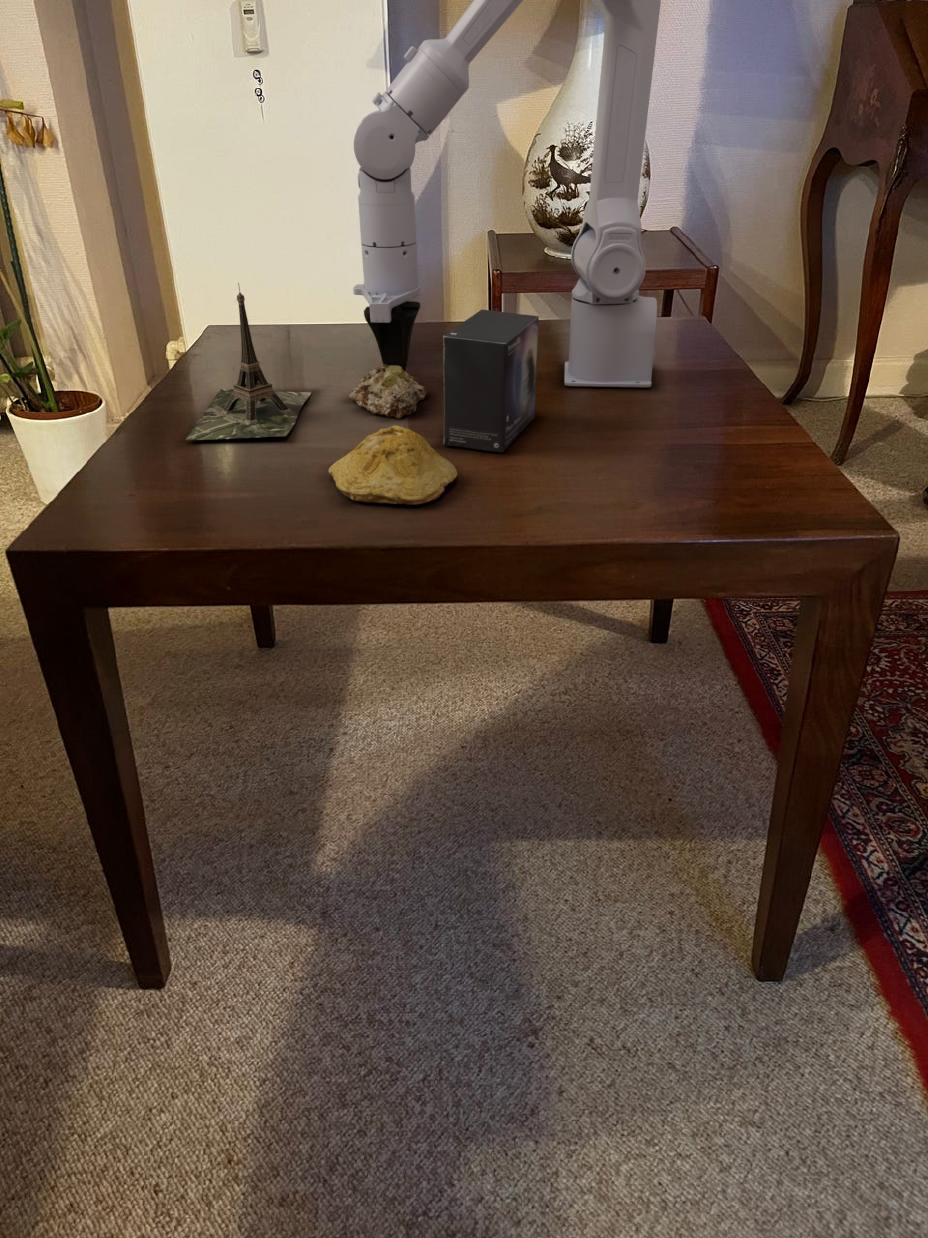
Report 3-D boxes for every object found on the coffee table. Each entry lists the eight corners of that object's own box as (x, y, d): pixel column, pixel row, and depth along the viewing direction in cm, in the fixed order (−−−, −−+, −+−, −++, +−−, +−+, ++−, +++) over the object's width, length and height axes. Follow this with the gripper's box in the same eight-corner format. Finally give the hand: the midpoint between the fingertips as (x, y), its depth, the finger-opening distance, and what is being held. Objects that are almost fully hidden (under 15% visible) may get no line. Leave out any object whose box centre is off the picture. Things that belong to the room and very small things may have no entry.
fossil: (311, 429, 75) (363, 393, 83) (302, 493, 78) (352, 452, 87) (436, 477, 73) (476, 435, 82) (421, 540, 77) (461, 494, 85)
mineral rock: (339, 369, 101) (408, 344, 102) (353, 405, 104) (420, 381, 104) (351, 405, 93) (427, 377, 93) (366, 443, 95) (439, 416, 95)
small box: (506, 455, 86) (508, 341, 81) (441, 447, 88) (438, 335, 83) (538, 417, 95) (542, 312, 89) (478, 411, 96) (478, 307, 91)
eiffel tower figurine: (220, 393, 102) (199, 266, 95) (311, 392, 102) (298, 265, 95) (185, 444, 90) (159, 301, 83) (290, 442, 90) (273, 300, 83)
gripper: (364, 230, 103) (372, 352, 110) (335, 256, 91) (347, 392, 98) (427, 230, 102) (431, 353, 109) (407, 256, 90) (413, 393, 97)
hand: (395, 372), depth 104 cm, fingers closed
